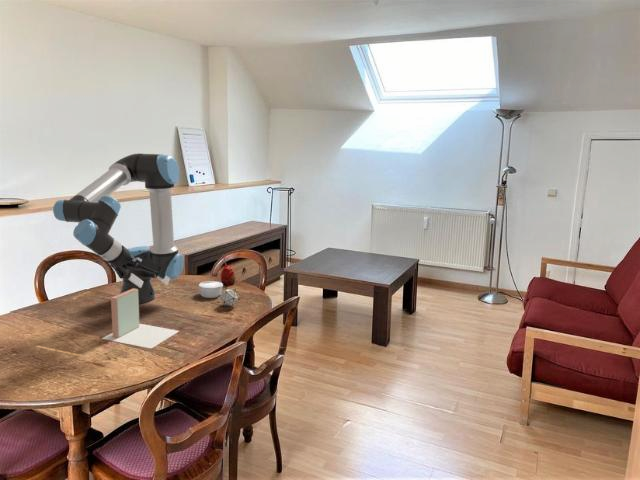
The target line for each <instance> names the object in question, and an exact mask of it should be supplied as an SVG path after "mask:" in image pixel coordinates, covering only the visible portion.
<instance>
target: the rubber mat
mask: <svg viewBox="0 0 640 480" xmlns="http://www.w3.org/2000/svg"><path fill="white" fill-rule="evenodd" d="M139 326H140V327H138V328H136V329H134V330H132V331H130V332H129V333H127V334H125V335H123V336H121V337H119V338H114V337H113V332H112V333H109V334H108V335H106V336H104V337H102V338H101V340H106V341H112V342H117V343H121V344H127V345H132V346H137V347H141V348H146V349H152V348H154V347H156V346H158V345H159V344H161V343H163V342H164V341H166V340H168V339H169V338H171V337H173V336H174V335H176V334H177V333H179V332H180V330H176V329H171V328H166V327H159V326H155V325H154V326H153V325H149V324H144V323H139Z"/></svg>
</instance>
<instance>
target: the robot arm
mask: <svg viewBox="0 0 640 480" xmlns="http://www.w3.org/2000/svg"><path fill="white" fill-rule="evenodd" d="M179 177H180V168H179V165H178V162H177V160H176V159H175V158H174V157H173V156H171V155H168V154H162V153H159V154H158V153H133V154H132V153H131V154H129V155H127V156H124V157H122V158H120V159H118V160H117V161H115V162H114V163H112V164H111V165H110V166H109V167H108V170H107V171H105V173H103V174H102V175H101V176H100V177H98V178H97V179H95V180H94V181H93V182H91V183H90V184H88V185H87V186H86V187H84V188H83V189H82V190H80V191H79V192H78V193H76V194H75V195H74V196H73V197H71V198H70V199H59V200H57V201H55V203H54V205H53V207H52V208H53V209H52V213H53V216H54V218H55V219H56V220H58V221H61V222H62V221H63V222H66V223H69V222H70V223H77V225H76V226H75V227H74V229H73V233H72V234H73V237H74V239H76V241H78V242H79V243H81V245H82V246H85V247H87V249H90V250H91V251H92V252H93V253H95V254H97V255H98V256H99V257H100V258H101V259H102V260H104V261H106V262H107V263H109V264H110V267H111V268H112V269H113V270H114V272H115V273H116V275H117V276H118V277H119V279H122V283H121V284H122V285H121V288H120V291H119V294H121V293H123V292H126V291H128V290H131V289H133V288H134V289H138V298H139V304H144V303H147V302H151V301H153V300H155V298H156V291H155V288H154V286H153V284H152V281H151V279H158V280H159V281H160V282H162V283H163V284H164V285H166V286H168V285H169V282H170V280H176V279H178V278H179V276H180V275H181V273H182V271H183V268H184V265H185V264H184V263H185V258H184V257H185V256H184V255H183V254H182V253H181V252H180V253H179V248H178V246H176V244H175V237H174V223H173V209H172V207H173V205H172V202H173V201H172V190H173V189H174V188H175V184H177V183H178V181H179V180H180V179H179ZM133 182H140V183H144V187H145V189H146V190H147V191H148V192H149V203H150V204H149V205H150V218H151V219H150V220H151V232H152V234H151V235H152V245H153V246H152V247H151V248H150V247H149V246H146V245H145V246H135V247H130V248H127V247H125V246H124V245H122V243H120V242H119V241H118V240H116V239H115V238H114V237H113V236H111V235H110V234H109V233H110V231H111V229H112V228H113V225H114V223H115V221H116V220H117V218H118V216H119V213H120V210H121V209H122V207H121V206H122V205H121V203H120V202H119V201H118V200H117V199H116V198H115V197H113V196H111V195H112V194H114V193H115V192H116V191H117V190H118V189H120V188H121V187H122V186H127V185H129V184H130V183H133Z"/></svg>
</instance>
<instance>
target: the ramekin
mask: <svg viewBox="0 0 640 480" xmlns="http://www.w3.org/2000/svg"><path fill="white" fill-rule="evenodd" d="M223 287H224V284H223V283H222V281H221V282H220V281H212V280H209V281H202V282H200V283H198V289H199V294H200V295H201V297H202V298H205V299H206V298H207V299H208V298H209V299H215V298H218V295H219V297H220V295H221V294H222V293H223Z"/></svg>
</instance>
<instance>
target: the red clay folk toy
mask: <svg viewBox="0 0 640 480" xmlns="http://www.w3.org/2000/svg"><path fill="white" fill-rule="evenodd" d="M226 257H227V255H224V254H222V257H221V258H220V259H221V260H223V261H224V267H223V268H222V269H221V273H220V280H221V283H222V284H223V286H225V285H226V286H230V285H233V283H234V284H235V281H236V275H235V271H234V270H233V267H232V266H231V265H227V261H226Z"/></svg>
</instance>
